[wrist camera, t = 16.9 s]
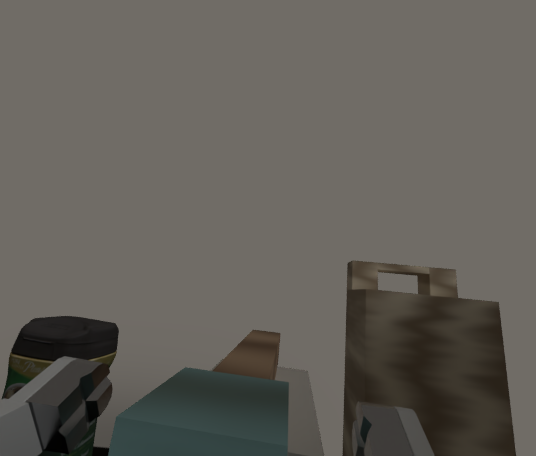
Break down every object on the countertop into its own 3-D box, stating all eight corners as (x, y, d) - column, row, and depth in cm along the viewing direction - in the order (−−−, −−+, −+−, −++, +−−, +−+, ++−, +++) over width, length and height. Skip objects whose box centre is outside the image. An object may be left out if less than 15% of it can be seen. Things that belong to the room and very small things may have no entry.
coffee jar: (98, 495, 28) (136, 319, 32) (19, 569, 20) (82, 326, 25) (28, 474, 30) (73, 310, 34) (-68, 535, 22) (5, 315, 27)
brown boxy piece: (458, 547, 26) (441, 271, 33) (540, 672, 18) (494, 264, 24) (340, 522, 28) (347, 263, 34) (362, 627, 19) (366, 253, 26)
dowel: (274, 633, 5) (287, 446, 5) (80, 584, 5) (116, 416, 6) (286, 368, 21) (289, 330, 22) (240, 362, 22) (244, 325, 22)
